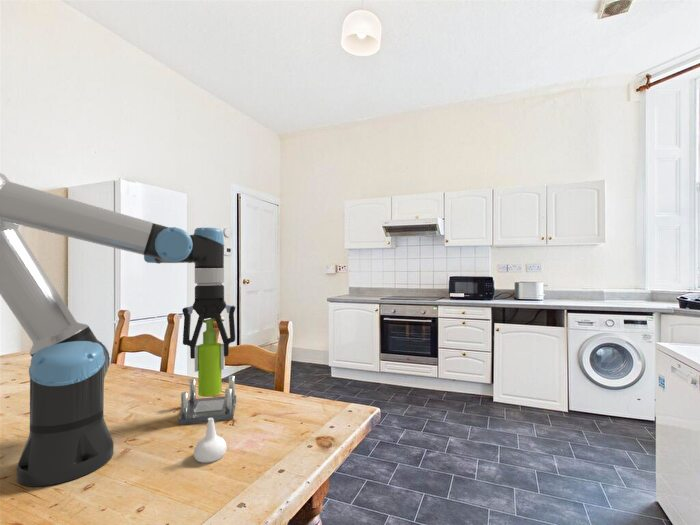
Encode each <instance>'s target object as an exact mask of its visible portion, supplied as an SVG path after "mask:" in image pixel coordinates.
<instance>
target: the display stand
mask: <svg viewBox="0 0 700 525" xmlns="http://www.w3.org/2000/svg"><path fill="white" fill-rule="evenodd" d="M235 379H236V378H235V375H229V376H228V387H227V388H225V390H224V392H225V393H224V394H225V396H211V397H203V398H197V397H196V395H197V394H196V389H197V386H196V385H197V383H196V378H191V379H189V392H188V391H182V392H181V393H180V415H179V417H178V421H177V422H178V424H177V425H178V426H183V425H192V424H193V425H194V424H202V423H208V419H209V418H213V420H214V422H220V421H221V422H222V421H229V420H230V421H231V420H234V417H235V412H236V411H235V410H236V406H237V395H235V390H236V389H235V382H236V381H235Z"/></svg>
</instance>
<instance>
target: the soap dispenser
mask: <svg viewBox="0 0 700 525" xmlns="http://www.w3.org/2000/svg"><path fill="white" fill-rule="evenodd" d="M221 320H222V322H224V321H225V319H224V318H223V319H221ZM214 322H216V321H215V319H211V318H208V319H204V320H203V323H204V324H206V326H205V329H206V330H205V331H203V332H202V343H201V344H197V345H198V371H197V374H198V375H197V378H198V379H197V380H198V381H197V384H198V386H197V387H198V390H197V392H198V396H199V397H203V398H210V397H216V396H218V395H220V394H221V393H222V391H223V390H222V370H221V344H222V343H220V342H217V331H216V330H214Z"/></svg>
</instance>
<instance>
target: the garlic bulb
mask: <svg viewBox="0 0 700 525" xmlns="http://www.w3.org/2000/svg"><path fill="white" fill-rule="evenodd" d="M215 425H216V424H215V421H214V420H213V418H209V419H208V422H207V426H206V428H207V429H206V432H205V436H204V437H203V438H201V439H200V440H199V441H198V442H197V444H196V445H195V447H194V449H193V450H194V451H193V458H194V459H195V460H196V461H197V462H198V463H202V464H208V463H214V462H216V461H219V460H220V459H222V458H223V457H224V456H225V454H226V452H227V442H226V440H225V439H224V438H223V437H221V436H219V435H217V432H216V426H215Z"/></svg>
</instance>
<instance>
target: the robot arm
mask: <svg viewBox="0 0 700 525" xmlns="http://www.w3.org/2000/svg"><path fill="white" fill-rule="evenodd" d="M19 226H23V227H27V228H30V229H33V230H34V229H36V230H38V231H43V232H46V233H47V232H48V233H51V234H55V235H60V236H64V237H68V238H73V239H76V240H80V241H85V242H88V243H93V244H95V245H101V246H106V247H109V248H114V249H117V250H120V251H121V250H122V251H126V252H131V253H134V254H139V255H142V256H143V259H144V261H145V262H146V263H149V264H151V263H152V264H181V263H184V264H185V263H186V264H192V263H194V283H195V284H196V285H195V286H194V302H193V304H192V305H191V306H185V307H184V308H182V314H183V317H184V318H183V331H182V332H183V334H182V345H184V346H189V348H190V349H189V350H190V351H189V352H190V354H189V355H190V360H191V359H193V360H194V372H197V373H198V345H199V344H197V342H198V340H199V337H200V333H201V330H202V327H203V320H207V319H215V322H216V325H217V328H218V331H219V334H220V337H221V340H222V343H221V371H222V370H225V367H226V366H225V360H226V359H225V358H226V357H228V356H229V354H230V350H229V348H230V347H229V346H230V344H232V343H234V342H235V341H236V327H235V326H236V325H235V316H234V315H235V311H236V306H235V305H233V304H232V305H230V304H226V301H225V286H224V283H225V266H224V264H225V260H224V259H225V258H224V257H225V256H224V255H225V251H224V250H225V242H224V240H225V239H224V233H223V230H222V229H220V228H216V227H196V228H195V229H194V232H193V234H189V233H188V232H187V231H186V230H184V229H182V228H179V227H176V226H174V227H172V226H169V227H168V226H165V225H162V224H157V223H153V222H152V221H149V220H145V219H141V218H137V217H133V216H130V215H127V214H124V213H120V212H117V211H114V210H110V209H106V208H103V207H98V206H96V205H92V204H88V203H85V202H81V201H79V200H75V199H71V198H68V197H64V196H61V195H59V194H55V193H54V194H53V193H50V192H46V191H43V190H40V189H36V188H34V187H30V186H27V185H23V184H19V183H16V182H12V181H10V180H9V179H8V177H7V176H6V175H5V174H3V173H1V172H0V296H1V297H2V299H3V301H4V302H5V303H6V305H7V307H8V308H9V309H10V311H11V312H12V314H13V316H14V317H15V318H16V320H17V321H18V322H19V324H20V326H21V327H22V329H23V330H24V331H25V333H26V334H27V336H28V338H29V339H30V341H31V342H32V346H31V347H30V351H29V355H30V356H31V359H30V365H29V368H28V375H29V376H28V377H29V433H28V437H27V440H26V441H25V442H26V443H25V445H24V447H23V450H22V453H21V455H20V458H19V460H18V463H17V465H16V466H17V467H16V482H17V483H19V484H20V485H22V486H25V487H44V486H46V487H47V486H51V485H57V484H61V483H65V482H68V481H72V480H75V479H78V478H81V477H83V476H86V475H88V474H90V473H92V472H95V471H96V470H98V469H100V468H101V467H103V466H104V465H106V464H107V463H108V462H109V461H110V460H111V459H112V458H113V456H114V440H113V437H112V434H111V433H110V431H109V428H108V426H107V423H106V421H105V418H104V409H105V408H104V398H105V396H104V395H105V394H104V392H105V391H104V390H105V388H104V387H105V386H104V385H105V377H106V376H107V372H108V370H109V367H110V360H111V358H110V353H109V350H108V349H107V346H106V345H105V344H103V343H102V342H101V341H99V339H98V338H97V337H96V336H95V334H94V333H93V332H94V331H92V329H91V328H90V326H89V324H87V323H81V322H77V320H76V319H75V317H74V316H73V313H72V312H71V311H70V309H69V308H68V306H67V305H66V302H65V301H64V299H63V298H62V297H61V295H60V294H59V292H58V290H57V289H56V287H55V286H54V284H53V283H52V281H51V279H50V278H49V276H48V275H47V273H46V272H45V270H44V269H43V267H42V265H41V264H40V262H39V261H38V259H37V258H36V256H35V254H34V253H33V251H32V250H31V248H30V247H29V245H28V243H27V241H25V239H24V238H23V235H22V234H21V232H20V231H19ZM225 309H226V313H228V325H229V327H228V328H229V336H228V334H227V332H226V328H225V326H224V325H225V324H224V323H223V322H224V321H222V320H221V319H222V316H221V314H222V312H223V311H224V310H225ZM193 311H194V312H195V313H196V314H197V315H198V318H197V321H196V324H195V327H194V328H195V329H194V331H193V334H192V338H191V339H190V337H191V335H190V334H191V321H192V320H191V319H192V318H191V317H192V316H191V315H192V314H193Z"/></svg>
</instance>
